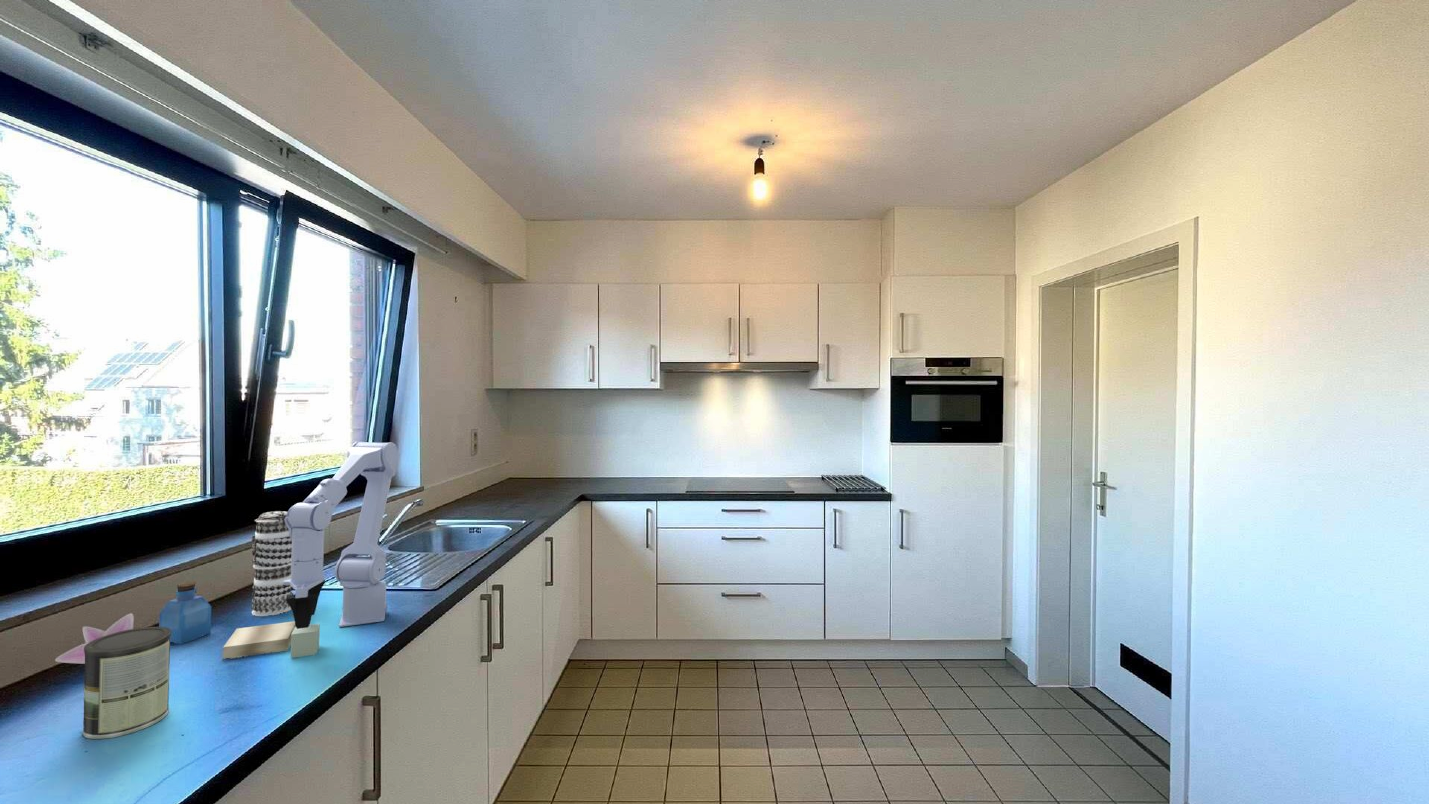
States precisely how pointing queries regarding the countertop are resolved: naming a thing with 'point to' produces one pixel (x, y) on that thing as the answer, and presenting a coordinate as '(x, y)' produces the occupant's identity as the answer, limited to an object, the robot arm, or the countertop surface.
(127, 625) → the lily
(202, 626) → the perfume bottle
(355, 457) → the robot arm
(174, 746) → the countertop surface
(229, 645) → the birch slab
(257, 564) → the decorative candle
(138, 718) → the coffee can
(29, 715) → the countertop surface
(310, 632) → the sage block
